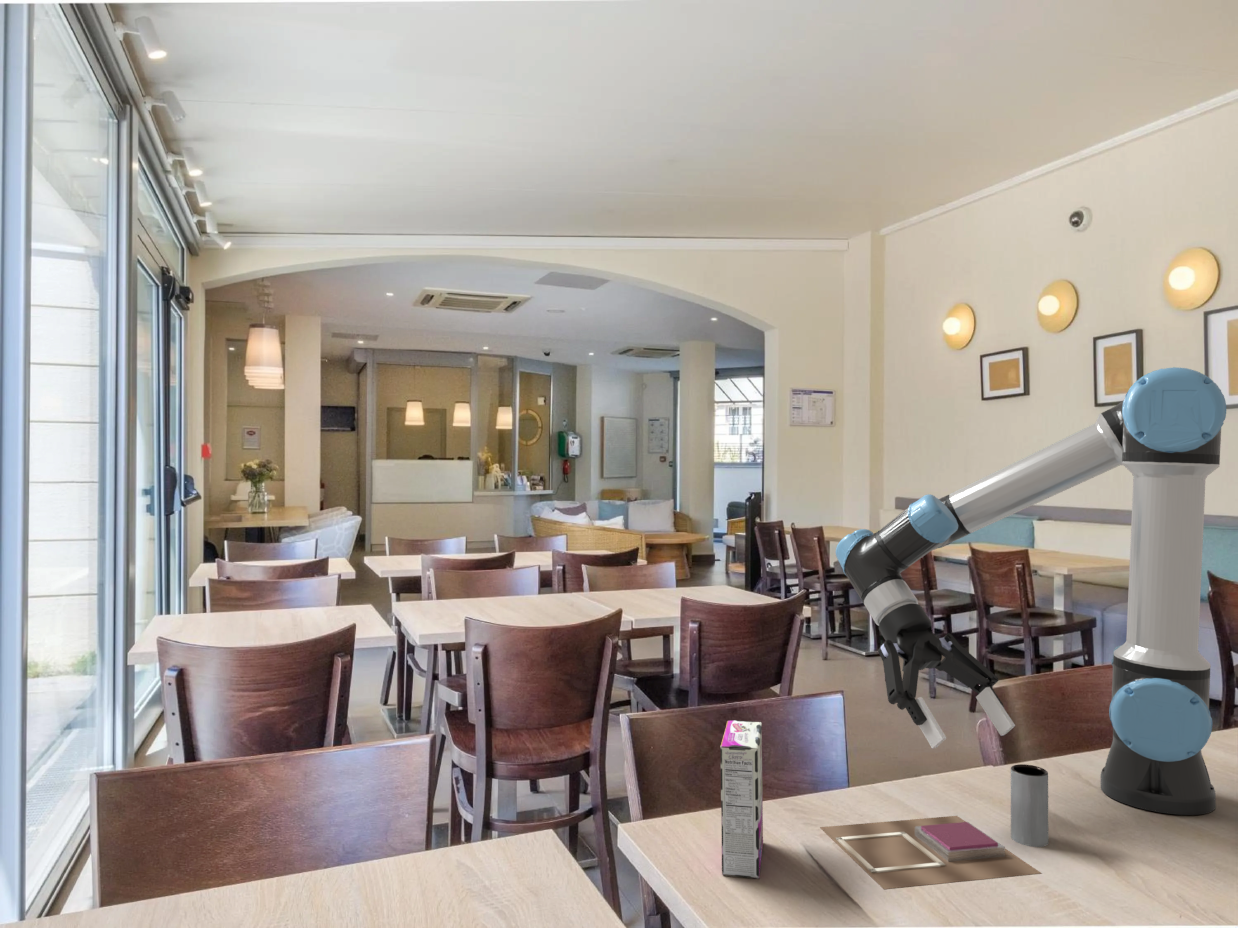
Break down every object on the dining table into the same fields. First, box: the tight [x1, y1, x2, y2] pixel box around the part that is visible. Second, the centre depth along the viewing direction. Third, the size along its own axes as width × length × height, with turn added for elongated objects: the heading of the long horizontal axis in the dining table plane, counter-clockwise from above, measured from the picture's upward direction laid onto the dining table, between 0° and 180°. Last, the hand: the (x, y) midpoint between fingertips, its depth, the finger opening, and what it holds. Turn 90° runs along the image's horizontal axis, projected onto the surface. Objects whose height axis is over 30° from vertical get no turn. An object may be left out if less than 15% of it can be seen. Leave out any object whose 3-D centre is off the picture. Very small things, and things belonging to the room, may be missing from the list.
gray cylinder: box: [1010, 764, 1049, 848], centre depth 116 cm, size 4×4×10 cm
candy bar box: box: [719, 720, 764, 879], centre depth 112 cm, size 11×5×16 cm, turn 168°
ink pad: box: [915, 821, 1006, 862], centre depth 114 cm, size 8×8×2 cm
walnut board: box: [819, 815, 1043, 890], centre depth 113 cm, size 21×18×1 cm
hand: (974, 737), depth 123 cm, fingers open, 13 cm apart
